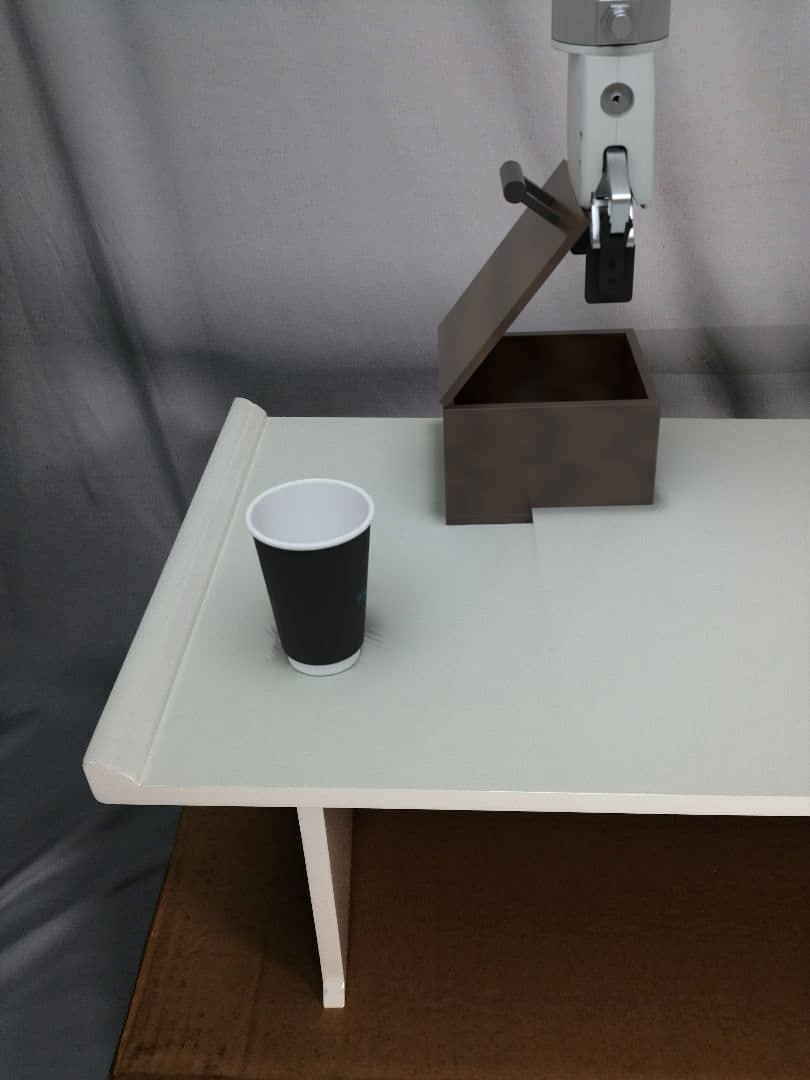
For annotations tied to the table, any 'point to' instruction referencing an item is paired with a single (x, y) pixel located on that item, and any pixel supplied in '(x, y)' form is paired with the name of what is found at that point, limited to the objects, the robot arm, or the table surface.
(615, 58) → the robot arm
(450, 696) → the table surface
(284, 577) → the dixie cup
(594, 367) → the box
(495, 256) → the box lid
